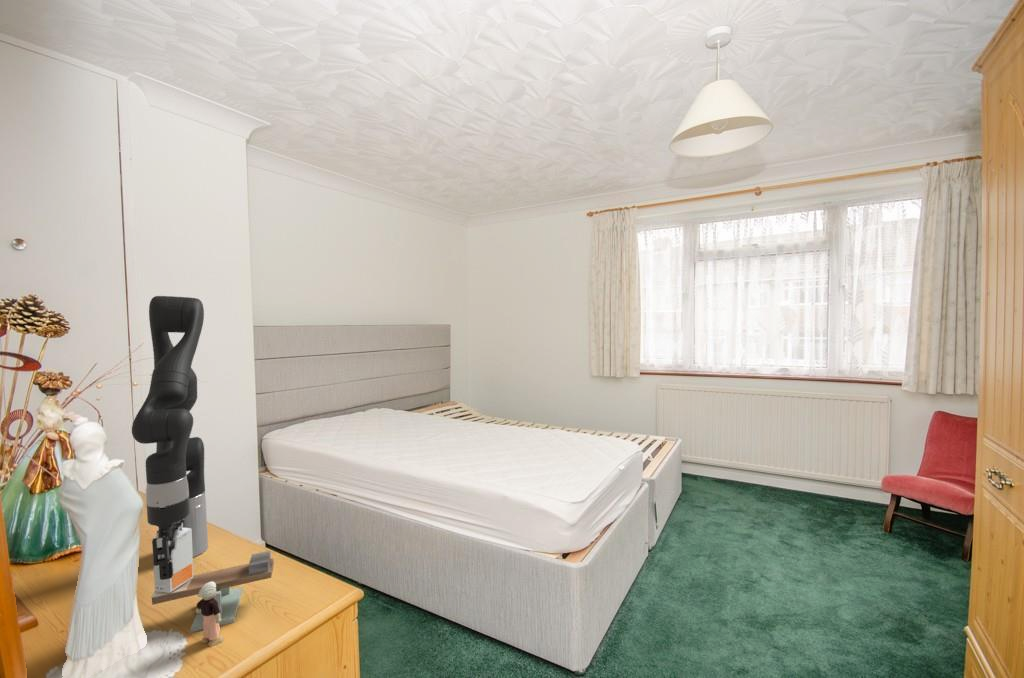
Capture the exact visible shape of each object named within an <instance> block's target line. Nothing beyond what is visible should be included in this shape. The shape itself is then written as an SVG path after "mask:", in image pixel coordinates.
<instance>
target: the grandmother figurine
mask: <svg viewBox="0 0 1024 678" xmlns="http://www.w3.org/2000/svg"><path fill="white" fill-rule="evenodd" d="M215 595H216V583H214V582H208V583H206V584H205V585H204V586H203V587H202V588H201V589H200V591H199V594H197V597H198V598H200V600H199V601H198V602H197V603H196V604H195V605H196V606H195V607H196V608H195V613H196V614H197V613H199V612H200V611H201V613H202V615H203V617H204V618H203V638H201V643H203V644H206V643H208V646H209V647H214V646H215V645H218V644H220V643H222V642H223V641H224V639H225V638H224V636H223V635H222V634H220V632H221V627H220V626H221V625H220V626H219V623H220V622H221V618H220V616H221V615H220V609H219V607H218V602H217V601H216V600H215V599H214V597H215Z"/></svg>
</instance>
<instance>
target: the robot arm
mask: <svg viewBox="0 0 1024 678" xmlns="http://www.w3.org/2000/svg"><path fill="white" fill-rule="evenodd" d="M204 318H205V309H204V304H203V302H202V301H201V300H200V299H199V298H197V297H187V296H185V297H184V296H170V295H168V296H167V295H156V296H155V295H154V297H152V298H151V299H150V302H149V307H148V319H149V320H148V321H149V328H150V336H151V341H152V343H151V344H152V351H153V366H154V367H153V370H152V373H151V378H150V379H151V380H150V385H149V391H148V394H147V396H146V398H145V401H144V402H143V404H142V406H141V407H140V409H139V411H137V414H136V416H135V417H134V419H133V422H132V425H131V434H132V437H133V438H134V440H135V441H136V442H138V444H145V445H147V444H148V445H149V444H156V452H154V453H151V454H149V455H148V456H147V457H146V459H145V476H146V479H145V480H146V487H145V488H146V489H145V501H146V513H147V514H146V515H147V517H146V518H147V519H146V520H147V523H148V524H149V525H151V526H156V527H158V530H157V531H156V534H155V539H154V538H152V541H151V544H152V556H153V567H154V566H157V565H159V572H160V579H161V580H165V579H170V578H172V576H173V562H172V560H173V551H174V550H175V549H176V546H177V536H178V535H179V531H180V530H182V529H183V527H184V528H191V529H192V553H193V558H194V557H196V556H199V555H201V554H202V553H204V552H206V551H207V550H208V548H209V540H208V536H209V535H208V520H207V500H206V498H207V497H206V485H205V484H206V481H205V444H204V441H203V439H202V438H201V437H198V436H193V437H191V433H192V430H193V425H194V417H193V414H192V413H191V412H190V411H191V410H192V409H193V407H195V405H196V402H197V399H198V378H197V374H196V372H195V371H194V370H193V368H192V364H193V360H194V357H195V354H196V351H197V347H198V344H199V341H200V337H201V334H202V330H203V325H204V321H205V320H204ZM169 333H178V334H181V333H184V334H183V336H182V338H181V339H180V340H179V341H178V342H177V343H176V344H175V346H174V345H173V342H172V341H171V340H172V339H171V338H170V335H169ZM187 472H188V473H187ZM172 539H173V543H172V545H171V546H170V547H169V541H172ZM162 554H164V555H165V557H163V558H162Z"/></svg>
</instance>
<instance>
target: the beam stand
mask: <svg viewBox="0 0 1024 678" xmlns="http://www.w3.org/2000/svg"><path fill="white" fill-rule="evenodd" d="M243 589H244V588H243V586H241V587H240V586H239V587H237V588H231V587H228V588H224V589H220V590H219V591H217V592H216V595H215V597H214V599H215V600H216V601H217V602H218V607H219V609H220V615H221V616H220V618H221V622H220V623H219V626H223V625H228V624H232V623H235V619H236V615H237V612H238V609H239V605H240V601H241V598H242V595H243V591H244V590H243ZM203 618H204V617H203V615H202V613H201V611H200V612H199V613H197V612H196V615H195V617H194V620H193V622H192V625H191V627H190V630H191V631H190V632H191V633H194V632H199V631H201V630H203ZM203 631H204V630H203Z"/></svg>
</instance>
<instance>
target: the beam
mask: <svg viewBox="0 0 1024 678" xmlns="http://www.w3.org/2000/svg"><path fill="white" fill-rule="evenodd" d="M274 565H275V559H274V557H273V558H272V553H271V550H267V551H263V552H262V551H261V552H258V553H253V554H251V557H250V560H249V563H245V564H240V565H236V566H232V567H226V568H222V569H218V570H213V571H208V572H204V573H198V574H195V575H194V574H193V578H192V579H191V580H189V581H187V582H186V583H184V584H183V585H181V586H180V587H178V588H176V589H175V590H173V591H172V592H171V593H166V592H159V591H155V590H154V591H153V593H152V595H151V597H150V599H151V606H152V605H158V604H162V603H166V602H170V601H174V600H178V599H179V600H180V599H185V598H188V597H192V596H198V594H199V591H200V589H201V588H202V587H203V586H204V585H205V584H206V583H208V582H214V583H216V592H217V591H219V590H220V589H224V588H228V587H230V588H232V587H236V586H242V585H245V584H250V583H253V582H258V581H262V580H267V579H271V578H272V576H273V572H274V571H273V570H274Z"/></svg>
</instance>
